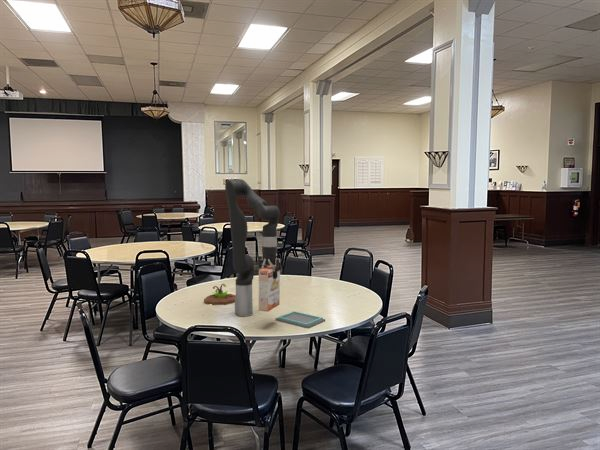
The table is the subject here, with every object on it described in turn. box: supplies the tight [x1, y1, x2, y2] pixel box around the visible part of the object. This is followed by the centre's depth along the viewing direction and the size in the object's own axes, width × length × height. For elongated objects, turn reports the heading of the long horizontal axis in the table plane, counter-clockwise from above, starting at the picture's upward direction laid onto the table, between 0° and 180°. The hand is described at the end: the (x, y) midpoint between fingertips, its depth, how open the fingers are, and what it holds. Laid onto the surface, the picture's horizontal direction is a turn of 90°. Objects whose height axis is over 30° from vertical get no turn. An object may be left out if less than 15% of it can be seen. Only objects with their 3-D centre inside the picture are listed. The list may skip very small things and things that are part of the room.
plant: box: [203, 283, 236, 306], centre depth 271 cm, size 20×20×11 cm
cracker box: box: [258, 265, 281, 313], centre depth 222 cm, size 14×6×21 cm, turn 158°
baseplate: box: [275, 310, 326, 329], centre depth 231 cm, size 22×15×2 cm
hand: (269, 277), depth 221 cm, fingers closed on cracker box, 7 cm apart
